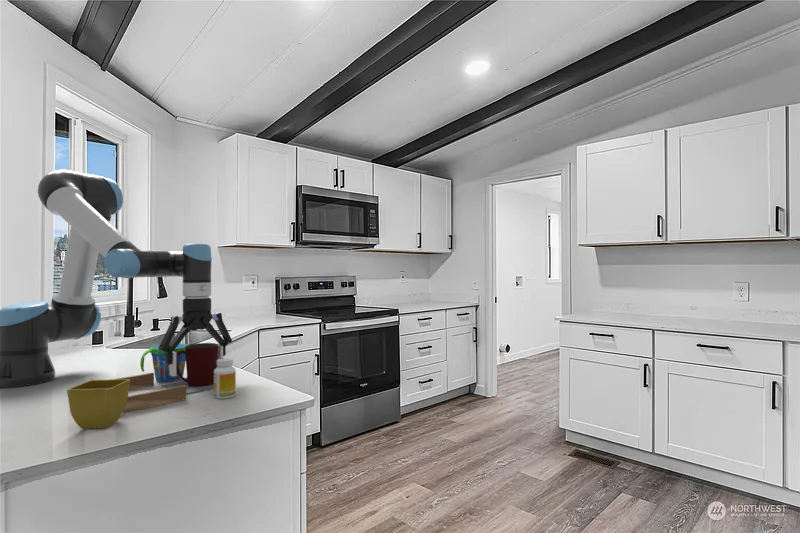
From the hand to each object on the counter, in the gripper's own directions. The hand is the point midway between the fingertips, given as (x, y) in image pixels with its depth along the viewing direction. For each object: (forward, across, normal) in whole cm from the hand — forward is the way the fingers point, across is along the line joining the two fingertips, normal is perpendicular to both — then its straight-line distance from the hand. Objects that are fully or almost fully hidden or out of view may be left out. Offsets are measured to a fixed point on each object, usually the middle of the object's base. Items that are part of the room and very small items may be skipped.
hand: (197, 371), depth 133 cm
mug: (+4, 0, 0) cm, 4 cm away
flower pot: (+4, -29, -17) cm, 34 cm away
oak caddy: (+4, -17, 0) cm, 17 cm away
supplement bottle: (+4, 0, -16) cm, 17 cm away
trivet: (+4, 0, 0) cm, 4 cm away
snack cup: (+4, -2, +14) cm, 15 cm away
